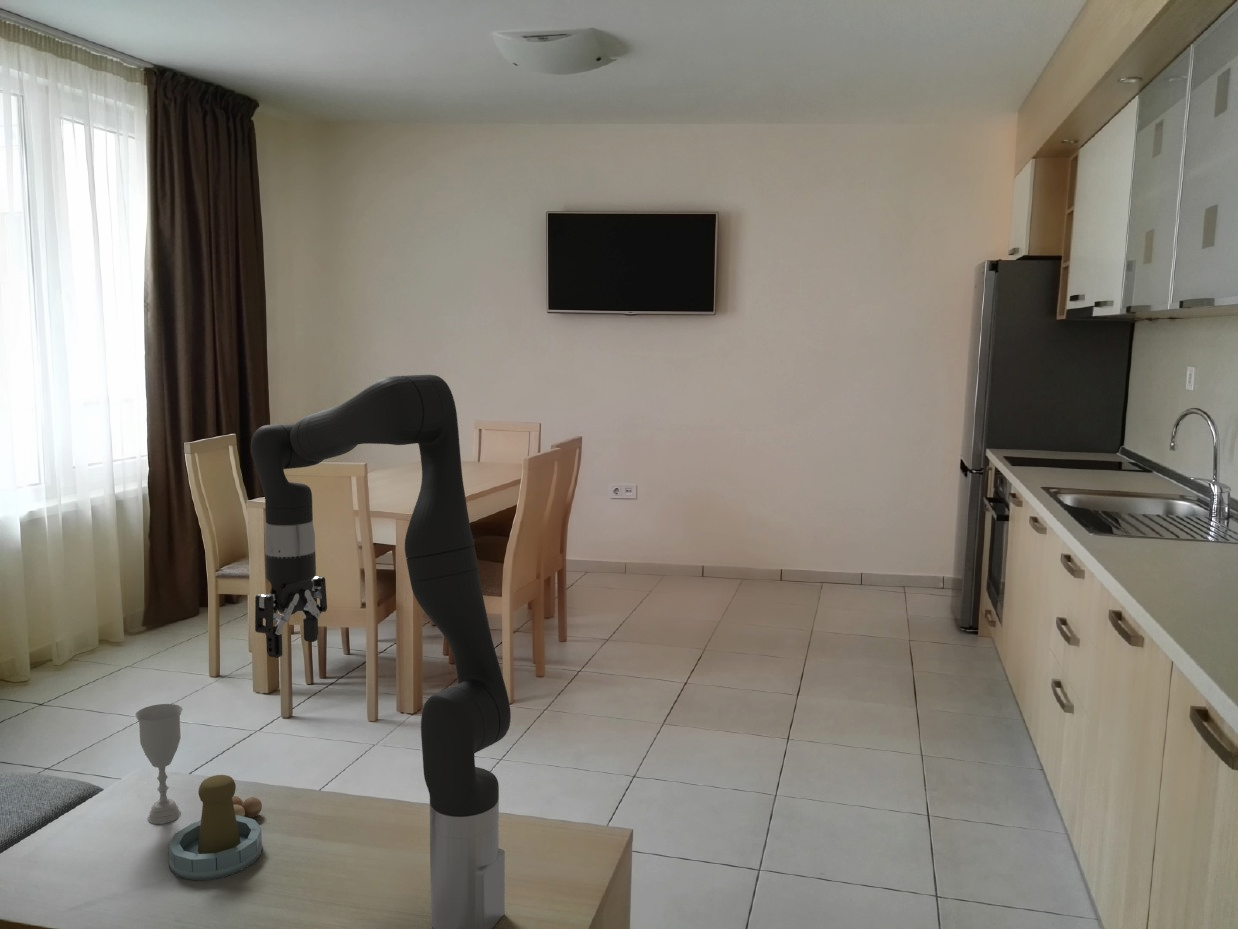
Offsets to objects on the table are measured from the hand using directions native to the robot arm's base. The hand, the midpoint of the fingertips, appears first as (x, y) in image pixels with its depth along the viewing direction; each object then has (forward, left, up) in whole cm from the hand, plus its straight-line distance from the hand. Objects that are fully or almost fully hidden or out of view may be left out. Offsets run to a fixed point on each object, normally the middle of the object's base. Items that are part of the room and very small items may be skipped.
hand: (293, 648), depth 150 cm
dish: (+4, +13, -29) cm, 33 cm away
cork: (+4, +13, -28) cm, 31 cm away
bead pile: (+9, +3, -29) cm, 31 cm away
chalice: (+21, +7, -30) cm, 37 cm away
